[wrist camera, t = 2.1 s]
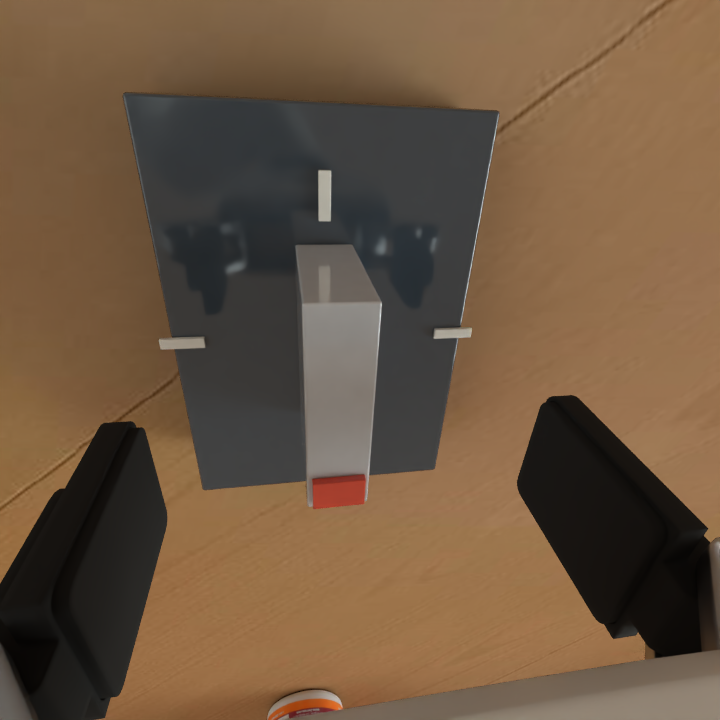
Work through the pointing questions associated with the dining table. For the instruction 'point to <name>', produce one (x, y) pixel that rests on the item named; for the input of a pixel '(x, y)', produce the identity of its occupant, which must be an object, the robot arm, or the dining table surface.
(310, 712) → the pill bottle
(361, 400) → the white rectangular bar
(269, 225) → the plate
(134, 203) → the dining table surface
